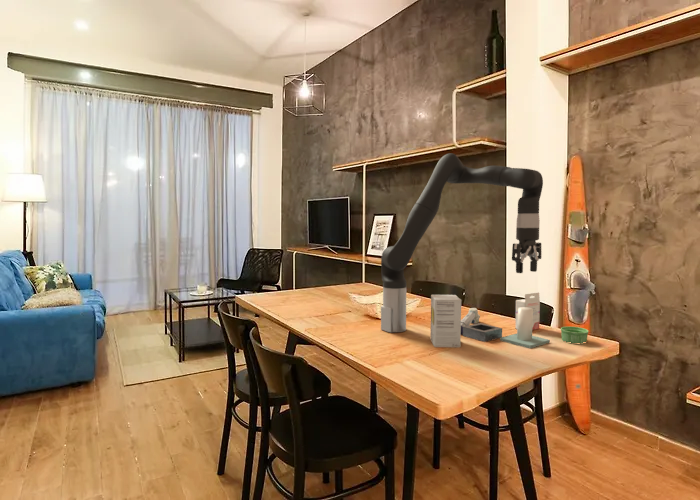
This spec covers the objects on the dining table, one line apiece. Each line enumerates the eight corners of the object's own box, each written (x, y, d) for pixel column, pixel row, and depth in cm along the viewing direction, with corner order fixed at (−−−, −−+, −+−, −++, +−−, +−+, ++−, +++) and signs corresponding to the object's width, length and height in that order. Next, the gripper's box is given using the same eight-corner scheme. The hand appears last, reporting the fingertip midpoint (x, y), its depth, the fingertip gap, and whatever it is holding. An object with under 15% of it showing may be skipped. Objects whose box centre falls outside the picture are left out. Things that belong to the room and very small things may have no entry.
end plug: (526, 341, 153) (527, 310, 153) (514, 338, 157) (515, 308, 157) (534, 339, 156) (535, 308, 155) (522, 336, 160) (523, 306, 160)
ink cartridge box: (529, 326, 179) (530, 290, 178) (539, 328, 175) (540, 292, 174) (514, 328, 175) (515, 292, 174) (524, 331, 171) (525, 294, 170)
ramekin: (576, 346, 152) (576, 333, 151) (554, 339, 160) (555, 327, 159) (594, 343, 155) (594, 331, 155) (572, 336, 163) (572, 325, 163)
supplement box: (429, 339, 160) (430, 294, 159) (455, 339, 160) (456, 294, 158) (434, 347, 150) (434, 299, 149) (461, 347, 150) (461, 299, 149)
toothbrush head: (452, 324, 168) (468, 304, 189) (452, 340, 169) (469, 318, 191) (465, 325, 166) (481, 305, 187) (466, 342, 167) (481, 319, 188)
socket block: (484, 341, 157) (485, 332, 156) (462, 335, 165) (463, 326, 165) (502, 337, 162) (502, 328, 162) (480, 331, 170) (480, 322, 170)
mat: (530, 348, 149) (530, 345, 149) (499, 340, 158) (500, 337, 158) (549, 342, 156) (549, 339, 155) (519, 335, 165) (519, 332, 165)
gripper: (525, 227, 147) (524, 274, 148) (549, 226, 155) (547, 271, 156) (506, 226, 153) (505, 272, 154) (529, 226, 161) (528, 269, 162)
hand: (526, 272), depth 155 cm, fingers open, 8 cm apart
